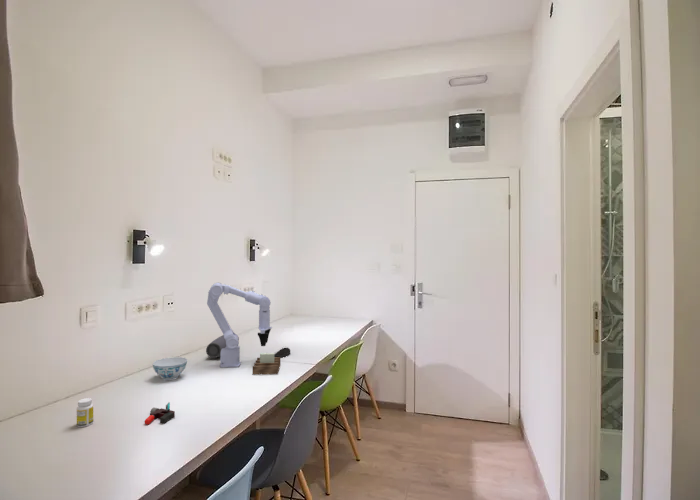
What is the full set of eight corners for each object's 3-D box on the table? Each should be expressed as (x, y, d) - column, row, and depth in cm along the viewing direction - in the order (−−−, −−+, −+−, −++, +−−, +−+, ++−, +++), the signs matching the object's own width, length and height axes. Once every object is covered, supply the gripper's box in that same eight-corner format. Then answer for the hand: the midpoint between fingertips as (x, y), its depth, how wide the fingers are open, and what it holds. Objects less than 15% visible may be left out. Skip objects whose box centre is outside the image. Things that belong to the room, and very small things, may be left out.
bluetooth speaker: (221, 360, 211) (221, 342, 211) (205, 360, 211) (205, 342, 211) (235, 349, 234) (235, 333, 234) (219, 349, 234) (219, 333, 234)
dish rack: (252, 374, 187) (252, 366, 187) (257, 365, 202) (257, 357, 202) (277, 374, 188) (277, 365, 188) (280, 364, 203) (280, 357, 203)
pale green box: (259, 368, 194) (259, 354, 194) (260, 367, 196) (260, 353, 196) (274, 368, 195) (274, 354, 195) (274, 366, 197) (274, 353, 197)
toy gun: (154, 412, 145) (154, 399, 145) (178, 417, 140) (179, 404, 140) (131, 422, 136) (131, 408, 136) (156, 429, 131) (156, 414, 131)
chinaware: (174, 384, 174) (174, 367, 174) (144, 381, 177) (144, 365, 177) (193, 373, 188) (193, 357, 188) (166, 371, 191) (166, 356, 191)
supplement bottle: (90, 420, 137) (90, 396, 137) (95, 423, 134) (95, 399, 134) (74, 424, 133) (74, 400, 133) (79, 428, 130) (79, 404, 130)
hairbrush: (258, 359, 205) (280, 345, 229) (258, 365, 206) (280, 351, 229) (272, 360, 203) (293, 346, 227) (272, 367, 203) (293, 352, 227)
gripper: (270, 321, 200) (270, 347, 200) (273, 316, 214) (273, 340, 215) (256, 321, 199) (256, 347, 199) (260, 316, 214) (260, 341, 214)
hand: (264, 344), depth 207 cm, fingers open, 7 cm apart
